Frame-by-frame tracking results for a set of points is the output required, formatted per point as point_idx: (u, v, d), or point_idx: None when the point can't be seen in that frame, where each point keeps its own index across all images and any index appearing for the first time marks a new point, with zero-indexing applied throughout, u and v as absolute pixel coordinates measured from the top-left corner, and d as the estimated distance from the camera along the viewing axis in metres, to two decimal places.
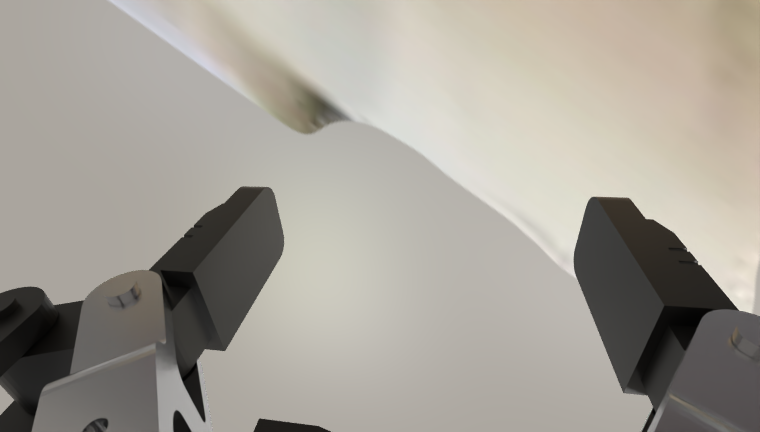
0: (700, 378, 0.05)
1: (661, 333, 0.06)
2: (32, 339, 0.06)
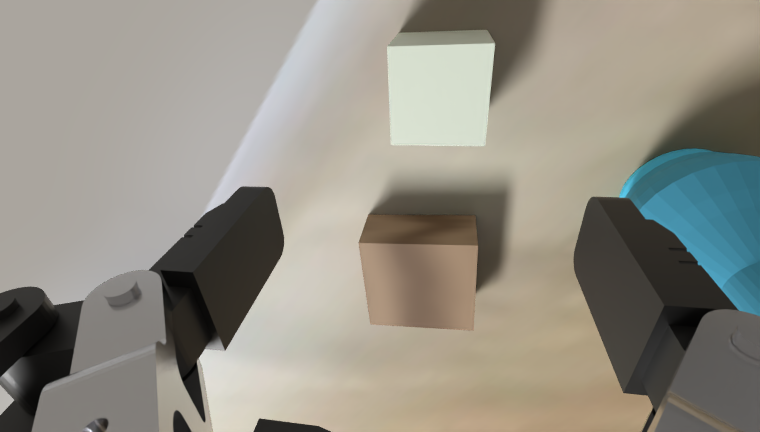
0: (700, 378, 0.05)
1: (661, 333, 0.06)
2: (32, 339, 0.06)
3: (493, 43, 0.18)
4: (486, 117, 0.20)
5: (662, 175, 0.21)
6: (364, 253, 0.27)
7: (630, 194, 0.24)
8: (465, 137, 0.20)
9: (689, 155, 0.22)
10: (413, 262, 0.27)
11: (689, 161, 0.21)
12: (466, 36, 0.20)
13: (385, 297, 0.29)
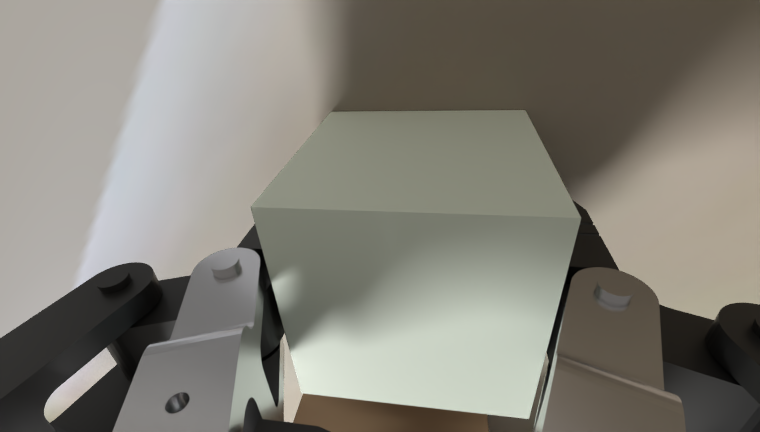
0: (578, 333, 0.05)
1: None
2: (146, 310, 0.07)
3: (575, 216, 0.06)
4: (537, 372, 0.07)
5: None
6: None
7: None
8: (479, 400, 0.08)
9: None
10: None
11: None
12: (481, 148, 0.08)
13: None
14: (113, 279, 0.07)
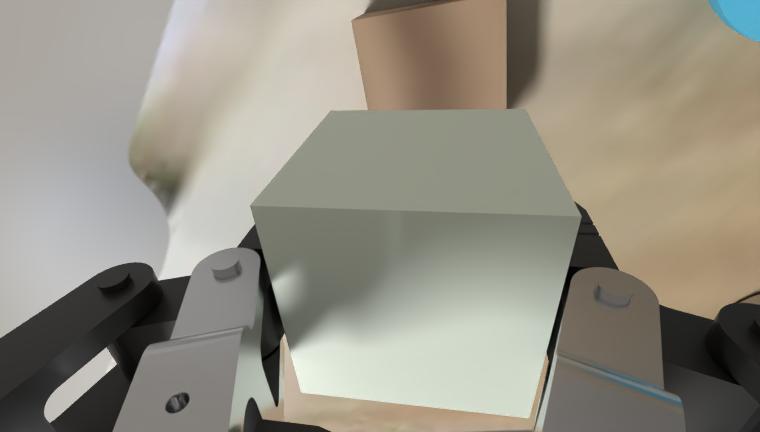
0: (578, 333, 0.05)
1: None
2: (146, 310, 0.07)
3: (575, 215, 0.06)
4: (537, 371, 0.07)
5: None
6: (360, 37, 0.21)
7: None
8: (479, 399, 0.08)
9: None
10: (423, 41, 0.21)
11: None
12: (481, 147, 0.08)
13: (391, 109, 0.23)
14: (112, 279, 0.07)
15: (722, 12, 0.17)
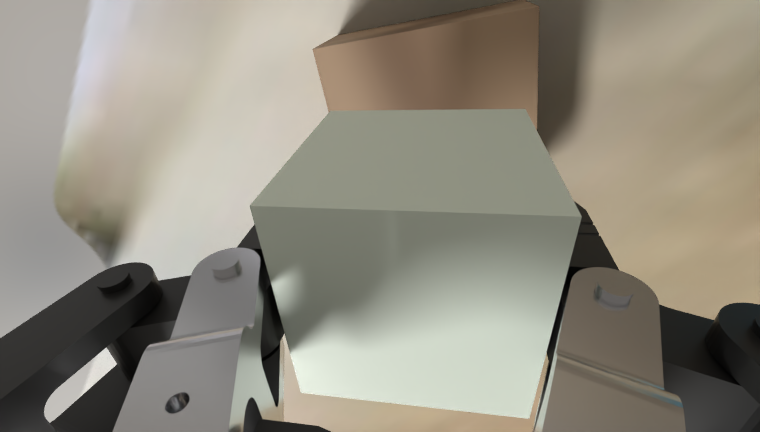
0: (578, 333, 0.05)
1: None
2: (146, 310, 0.07)
3: (575, 215, 0.06)
4: (537, 371, 0.07)
5: None
6: (326, 72, 0.15)
7: None
8: (479, 399, 0.08)
9: None
10: (415, 76, 0.14)
11: None
12: (481, 147, 0.08)
13: None
14: (112, 279, 0.07)
15: None
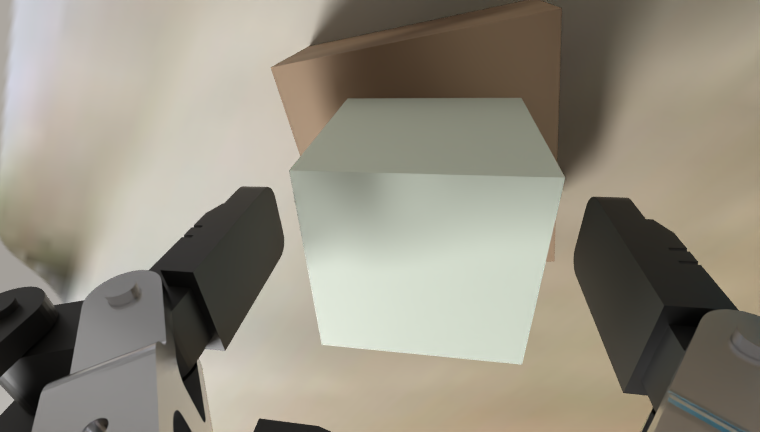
0: (700, 378, 0.05)
1: (661, 333, 0.06)
2: (32, 339, 0.06)
3: (560, 176, 0.07)
4: (529, 319, 0.09)
5: None
6: (290, 95, 0.12)
7: None
8: (479, 347, 0.09)
9: None
10: None
11: None
12: (483, 127, 0.09)
13: None
14: None
15: None
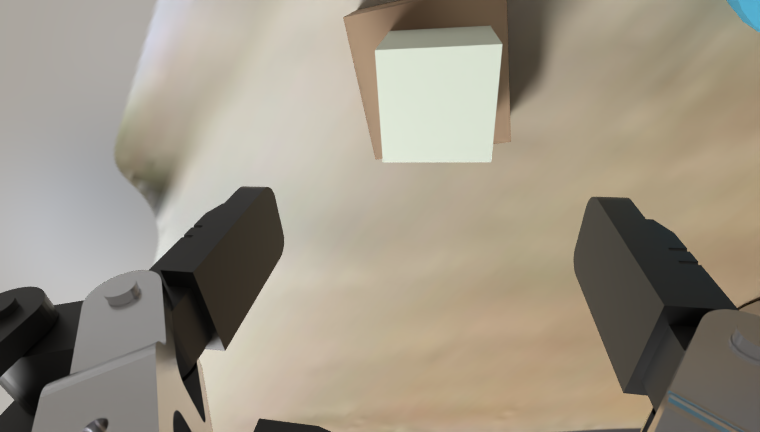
0: (700, 378, 0.05)
1: (661, 333, 0.06)
2: (32, 339, 0.06)
3: (500, 44, 0.15)
4: (492, 129, 0.17)
5: None
6: (353, 35, 0.20)
7: None
8: (468, 152, 0.18)
9: None
10: None
11: None
12: (467, 35, 0.17)
13: None
14: None
15: (740, 8, 0.17)
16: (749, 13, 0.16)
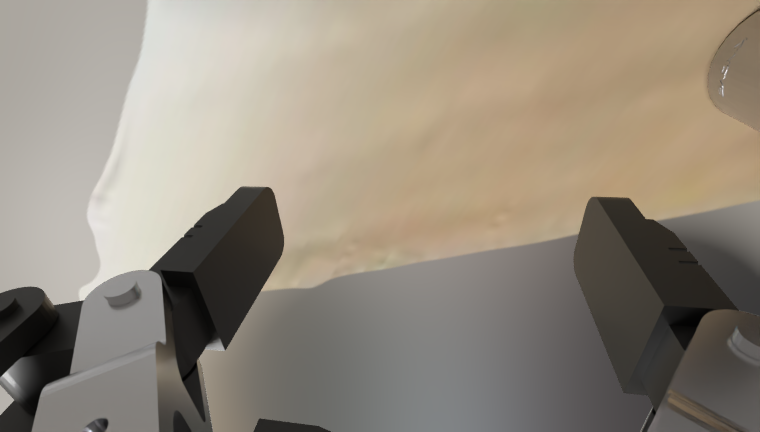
0: (701, 378, 0.05)
1: (661, 333, 0.06)
2: (32, 339, 0.06)
3: None
4: None
5: None
6: None
7: None
8: None
9: None
10: None
11: None
12: None
13: None
14: None
15: None
16: None
